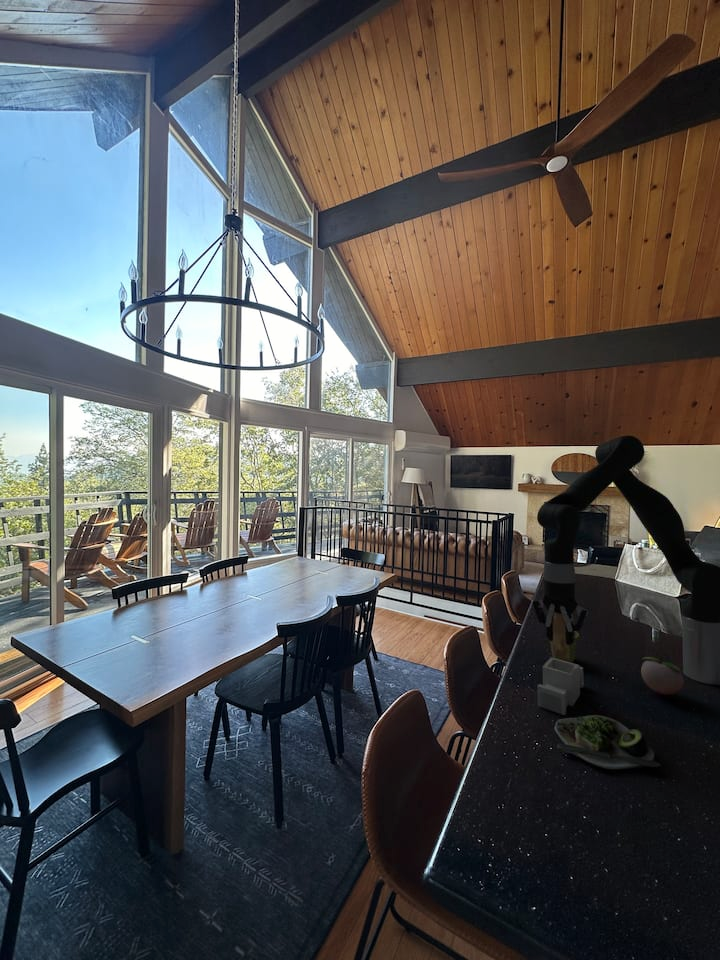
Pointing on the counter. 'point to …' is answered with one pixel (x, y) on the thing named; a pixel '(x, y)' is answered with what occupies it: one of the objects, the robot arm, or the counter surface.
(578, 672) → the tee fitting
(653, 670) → the decorative fruit
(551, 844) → the counter surface
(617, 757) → the salad plate
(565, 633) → the brown rounded rod
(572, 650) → the plant pot
